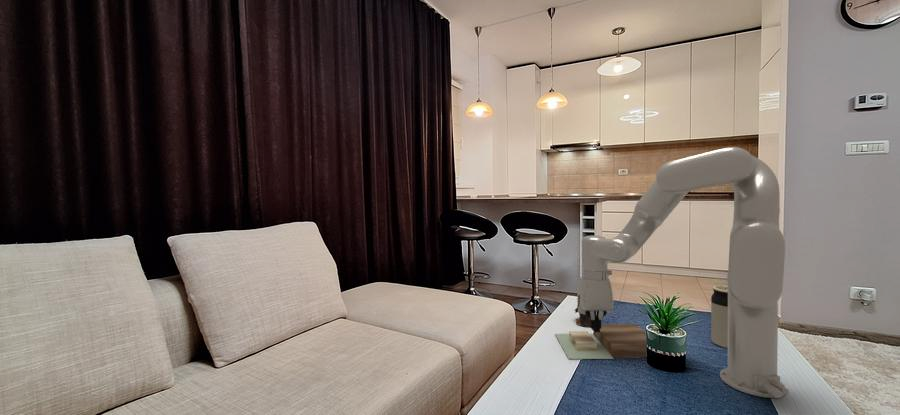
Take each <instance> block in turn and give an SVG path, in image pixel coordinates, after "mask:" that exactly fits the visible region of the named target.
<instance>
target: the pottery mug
mask: <svg viewBox="0 0 900 415" xmlns="http://www.w3.org/2000/svg"><path fill="white" fill-rule="evenodd" d="M578 307H579V305H578V304H577V305H576V308H575V310H574V313H575V314H576V313H579V312H578ZM578 315H579V318H575V322H576V326H584V327H588V328H590V317H589V316H587V315H586V314H582V313H579V314H578ZM594 315H595V317H596V311H594ZM602 321H603V319H602V320H601V322H602Z"/></svg>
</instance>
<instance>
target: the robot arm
mask: <svg viewBox="0 0 900 415" xmlns="http://www.w3.org/2000/svg"><path fill="white" fill-rule="evenodd" d="M727 184H730V186H731V187H732V190H733V196H734V197H733V220H732V227H731V230H730V235H729V246H728V247H729V249H728V268H727V270H728V271H727V276H726V278H727V279H726V282H727V285H726V286H727V287H728V348H727V367H725V368H723V369H721V370H720V372H719V376H720V379H721V381H722V382H723V383H725V384H726V385H727V386H729V387H732V388H733V389H735V390H738V391H740V392H743V393H744V394H747V395H752V396H756V397H760V398H769V399H771V398H772V399H773V398H774V399H780V398H782V397H784V396H785V395H787V394H788V393H789V389H788V388H786V386H785V383H783V382H782V381H781V376H780V375H778V345H779V344H778V343H779V342H778V341H779V340H778V331H779V311H778V310H779V309H778V308H779V304H778V301H779V300H780V298H781V296H782V293H783V285H784V284H783V283H784V272H785V258H786V242H785V241H786V240H785V236H784V235H783V233H782V231H781V229H780V213H781V212H780V211H781V210H780V208H781V207H780V201H781V200H780V197H781V196H780V184H779V181H778V179H777V175H776V174H775V173H774V171H773V170H772V169H771V168H770V166H769V165H768V164H767V163H765V161H763V160H761V159H760V158H758V157H756V156H754V155H752V154H751V153H750V152H749V151H748V150H747V149H744V148H741V147H738V146H729V147H722V148H719V149H715V150H711V151H708V152H707V151H706V152H703V153H699V154H695V155H691V156H687V157H683V158H679V159H675V160H670V161H668V162H666V163H664V164H662V166H660V167H659V169H658V170H657V172H656V176H655V180H654V181H653V182H652V184H651V185H650V186H649V187H648V188H647V190H646V191H645V193H643V195H642V196H641V197H640V198H639V200H638V201H637V202H636V204H635V206H634V210H633V214H632V216H631V217H630V219H629V220H628V222H627V224H626V225H625V226H624V227H623V229H622V230H621V231H620V232H619V234H617V236H615V237H612V238H606V237H605V236H602V235H586V236H583V237H582V239H581V267H582V268H581V273H582V276H581V277H579V280H578V285H577V286H578V287H577V296H576V299H577V300H576V301H577V305H579V307H578V312H579V313H582V314H586V315H587V316H589V317H590V327H589V328H590V330H592V332H593V333H594V332H600V329H601V324H602V321H603V319H604V317H605V316H606V315H608V314H612V313H614V309H613V308H614V296H613V289H612V282H611V280H610V278H609V276H610V275H613V271H612V270H610V269H608V262H610V263H616V264H623V263H626V262H627V261H629V260H630V259H631V258H633V257H634V256H635V255H636V254H637V253H638V252H639V251H640V250H641V249H642V247H643V246H644V244H645V243H646V242H647V241H648V240H649V239H650V238H651V236H652V235H653V234H654V233H655V231H657V229H658V228H659V227H660V226H662V224H663V223H664V222H665V220H666V219H668V217H669V216H670V214H672V212H673V211H674V209H676V207H678V205H679V204H680V203H681V201H682V200H684V198H685V197H686V195H687V194H688V193H689V192H691V191H696V190H702V189H707V188H711V187H716V186H722V185H727ZM594 311H596V317H595V315H594ZM578 312H577V313H578ZM601 320H602V321H601Z"/></svg>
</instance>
